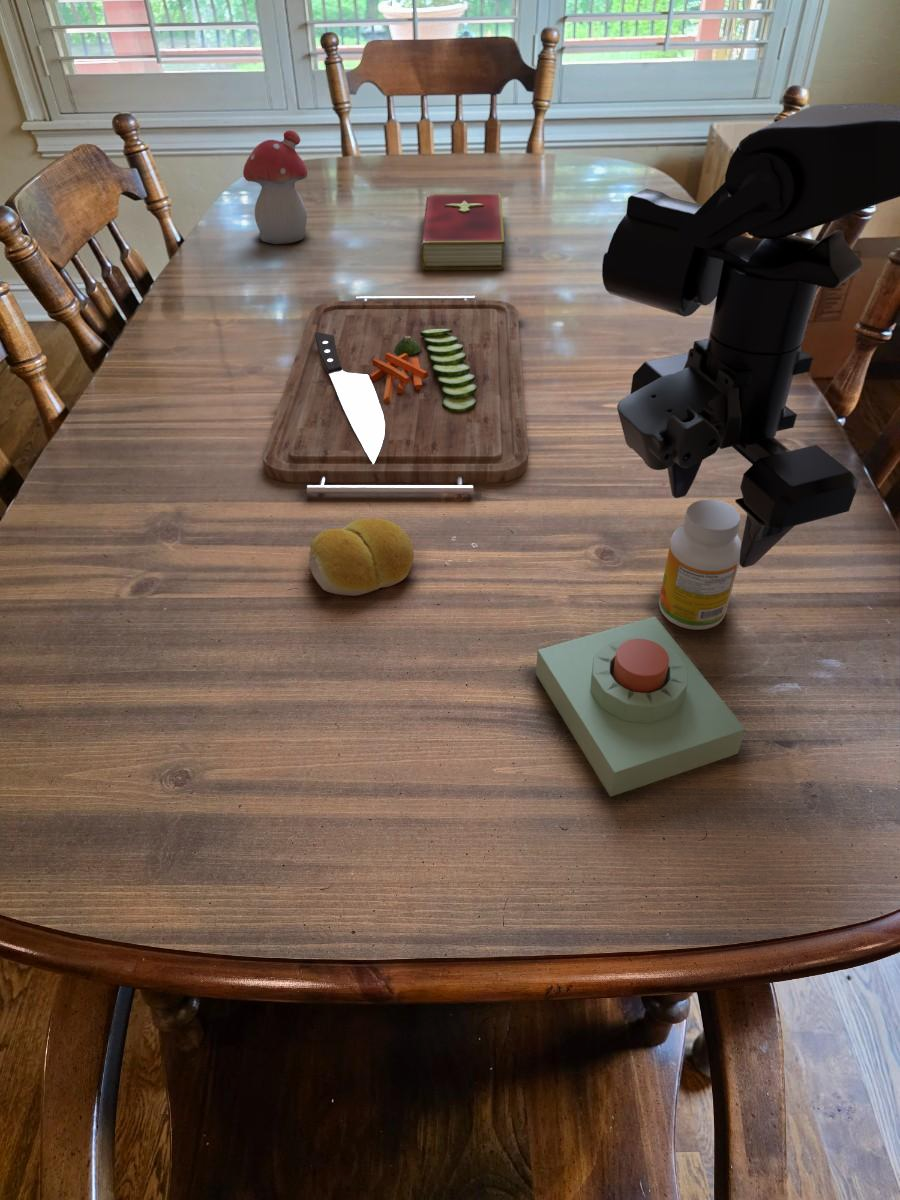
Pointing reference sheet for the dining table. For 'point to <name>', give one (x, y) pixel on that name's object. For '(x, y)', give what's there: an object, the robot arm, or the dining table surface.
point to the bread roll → (361, 557)
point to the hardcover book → (463, 232)
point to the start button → (641, 665)
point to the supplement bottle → (701, 566)
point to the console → (636, 709)
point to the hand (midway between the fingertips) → (711, 529)
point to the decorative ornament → (278, 189)
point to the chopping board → (403, 397)
